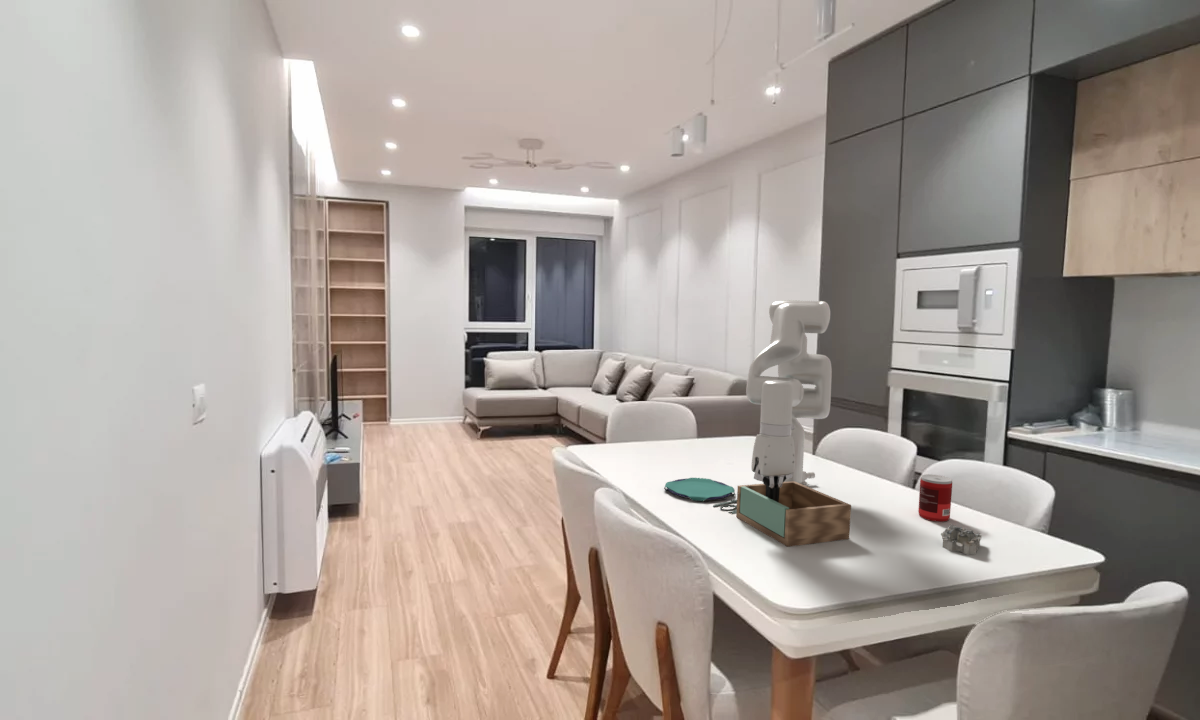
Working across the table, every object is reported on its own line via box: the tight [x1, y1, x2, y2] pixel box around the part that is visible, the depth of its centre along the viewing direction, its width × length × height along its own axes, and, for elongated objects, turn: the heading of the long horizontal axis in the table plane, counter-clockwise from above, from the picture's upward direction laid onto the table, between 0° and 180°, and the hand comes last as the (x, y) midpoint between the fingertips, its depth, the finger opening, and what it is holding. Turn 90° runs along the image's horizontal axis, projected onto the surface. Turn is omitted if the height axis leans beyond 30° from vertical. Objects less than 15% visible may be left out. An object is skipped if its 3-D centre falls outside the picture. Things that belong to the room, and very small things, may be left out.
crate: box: [735, 481, 852, 547], centre depth 157 cm, size 18×22×8 cm
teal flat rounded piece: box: [664, 477, 737, 515], centre depth 183 cm, size 20×30×2 cm, turn 34°
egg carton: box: [940, 524, 982, 556], centre depth 147 cm, size 11×8×4 cm
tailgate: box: [740, 486, 789, 537], centre depth 154 cm, size 1×19×7 cm, turn 20°
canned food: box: [917, 473, 953, 523], centre depth 168 cm, size 8×8×11 cm
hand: (772, 501), depth 155 cm, fingers closed
